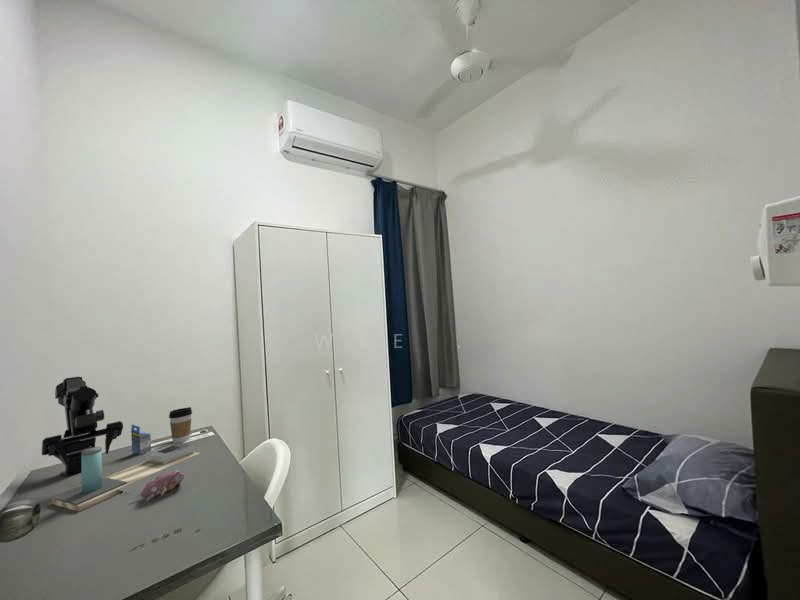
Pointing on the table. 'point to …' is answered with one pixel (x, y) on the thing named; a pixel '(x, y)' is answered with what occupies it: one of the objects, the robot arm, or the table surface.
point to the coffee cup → (180, 424)
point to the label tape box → (140, 440)
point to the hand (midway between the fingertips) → (87, 459)
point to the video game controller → (163, 483)
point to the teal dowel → (91, 469)
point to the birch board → (124, 475)
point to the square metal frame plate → (168, 454)
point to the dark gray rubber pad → (78, 497)
